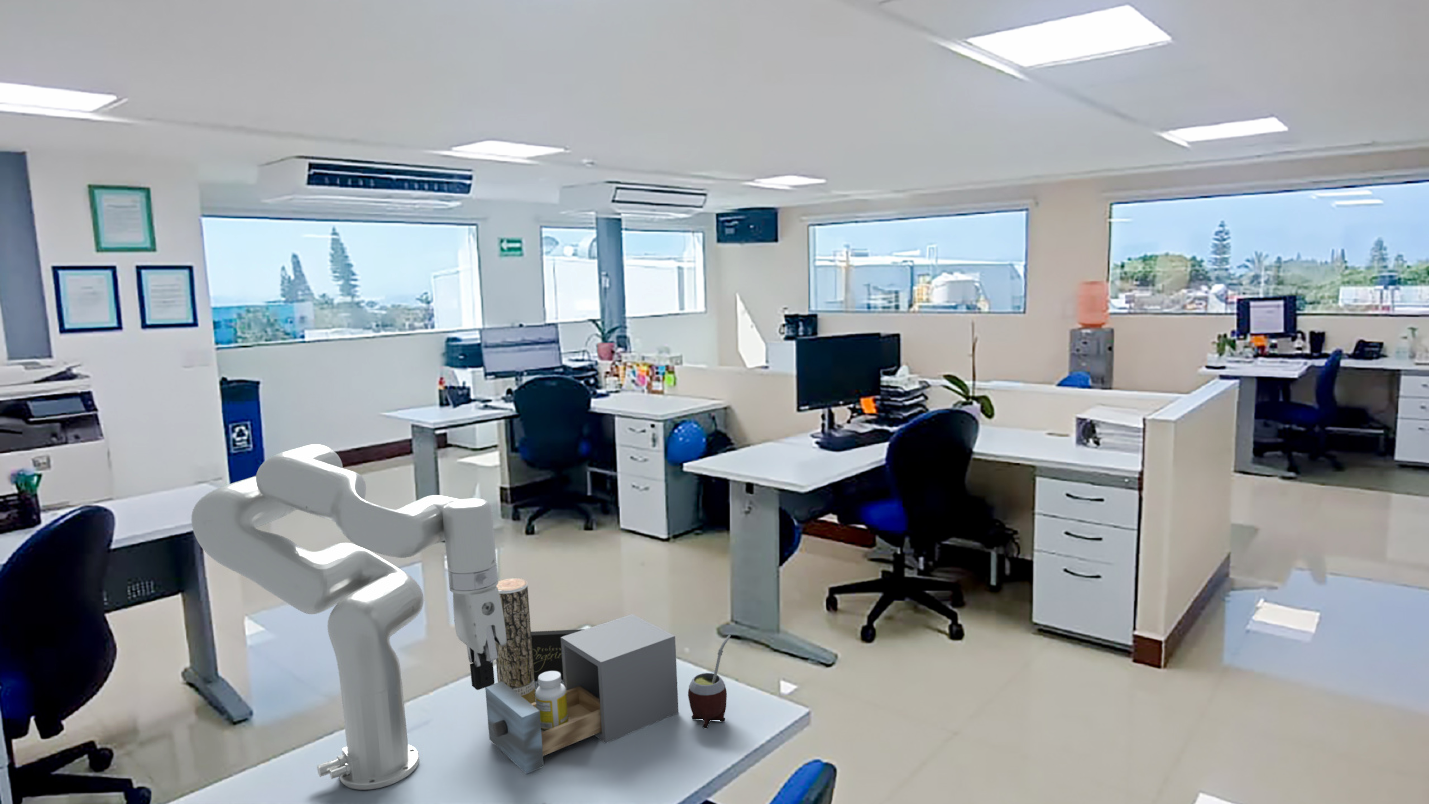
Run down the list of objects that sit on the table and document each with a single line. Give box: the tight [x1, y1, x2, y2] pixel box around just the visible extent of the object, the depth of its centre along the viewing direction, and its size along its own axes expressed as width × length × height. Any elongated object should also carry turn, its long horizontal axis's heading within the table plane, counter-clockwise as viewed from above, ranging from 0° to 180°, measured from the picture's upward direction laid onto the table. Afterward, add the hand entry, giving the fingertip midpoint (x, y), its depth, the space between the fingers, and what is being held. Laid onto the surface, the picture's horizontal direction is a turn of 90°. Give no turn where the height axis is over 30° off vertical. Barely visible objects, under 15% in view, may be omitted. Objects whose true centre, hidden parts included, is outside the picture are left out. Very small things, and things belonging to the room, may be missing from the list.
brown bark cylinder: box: [495, 577, 536, 704], centre depth 163 cm, size 7×7×25 cm
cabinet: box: [561, 613, 679, 744], centre depth 161 cm, size 16×14×15 cm
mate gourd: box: [687, 633, 732, 729], centre depth 157 cm, size 8×8×15 cm
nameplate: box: [531, 628, 585, 682], centre depth 176 cm, size 21×2×10 cm, turn 92°
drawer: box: [484, 681, 602, 775], centre depth 151 cm, size 19×14×10 cm
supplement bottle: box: [535, 671, 568, 732], centre depth 152 cm, size 5×5×10 cm
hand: (483, 685), depth 139 cm, fingers closed
